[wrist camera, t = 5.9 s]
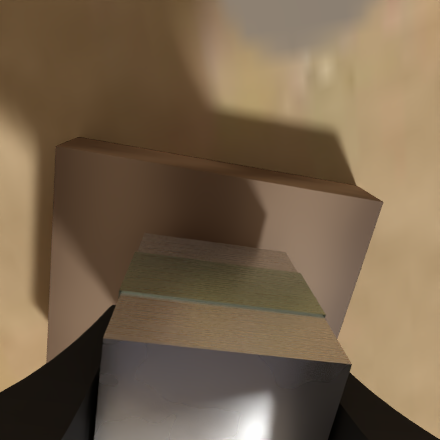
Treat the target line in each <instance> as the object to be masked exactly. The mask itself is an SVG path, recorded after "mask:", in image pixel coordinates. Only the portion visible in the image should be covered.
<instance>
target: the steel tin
mask: <svg viewBox="0 0 440 440" xmlns="http://www.w3.org/2000/svg"><path fill="white" fill-rule="evenodd" d="M325 316H326V314H325V312H324V311H323V309H322V308H321V306H320V304H319V303H318V301H317V299H316V298H315V296H314V294H313V293H312V291H311V289H310V288H309V286H308V284H307V283H306V281H305V279H304V278H303V276H302V274H301V273H298V272H297V270H296V269H295V267H294V265H293V264H292V262H291V260H290V259H289V257H288V255H287V253H286V252H281V251H274V250H266V249H259V248H252V247H244V246H237V245H229V244H222V243H215V242H207V241H200V240H193V239H185V238H178V237H171V236H163V235H156V234H148V233H144V236H143V238H142V241H141V243H140V246H139V249H138V251H137V252H135V253H134V255H133V258H132V260H131V263H130V265H129V268H128V270H127V272H126V275H125V277H124V280H123V282H122V285H121V287H120V289H119V297H118V302H117V304H116V307H115V309H114V312H113V314H112V317H111V319H110V322H109V324H108V327H107V329H106V332H105V334H104V337H103V344H102V355H101V367H100V378H99V389H98V401H97V412H96V423H95V435H94V440H328V437H329V434H330V431H331V428H332V425H333V422H334V419H335V415H336V412H337V409H338V406H339V403H340V400H341V397H342V394H343V390H344V387H345V384H346V381H347V378H348V375H349V372H350V369H351V365H352V364H351V362H350V360H349V359H348V357H347V355H346V354H345V352H344V350H343V349H342V347H341V345H340V343H339V342H338V340H337V338H336V337H335V335H334V333H333V332H332V330H331V328H330V326H329V325H328V323H327V321H326V320H325Z"/></svg>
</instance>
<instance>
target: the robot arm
mask: <svg viewBox="0 0 440 440" xmlns="http://www.w3.org/2000/svg"><path fill="white" fill-rule="evenodd" d="M115 307H116V305H112V306H110V307H109V308H108V309H107V310H106V311H105V312H104V313H103V314H102V315H101V316H100V318H99V319H98V320H97V321H96V322H95V323H94V324H93V325H92V326H90V327H89V328H88V329H87V330H86V331H85V332H84V333H83V334H82V335H81V336H80V337H79V338H77V339H76V340H75V341H74V342H73V343H72V344H71V345H69V346H68V347H67V348H66V349H64V350H63V351H62V352H61V353H59V354H58V355H57V356H56V357H55V358H53V359H52V360H51V361H49V362H48V363H46V364H45V365H44V366H42V367H41V368H39V369H38V370H37V371H35V372H34V373H32V374H31V375H29V376H28V377H26V378H24V379H23V380H21V381H19V382H18V383H16V384H14V385H12V386H11V387H9V388H7V389H5V390H4V391H2V392H0V440H94V435H95V423H96V412H97V401H98V389H99V378H100V367H101V355H102V344H103V337H104V334H105V332H106V329H107V327H108V324H109V322H110V319H111V317H112V314H113V312H114V309H115ZM328 440H440V439H438V438H437V437H435V436H433V435H432V434H430V433H429V432H427V431H426V430H424V429H423V428H421V427H419V426H418V425H416V424H415V423H413V422H412V421H410V420H409V419H407V418H406V417H405V416H403V415H402V414H400V413H399V412H397V411H396V410H395V409H393V408H392V407H391V406H389V405H388V404H387V403H386V402H384V401H383V400H382V399H380V398H379V397H378V396H376V395H375V394H374V393H373V392H371V391H370V390H369V389H368V388H367V387H366V386H364V385H363V384H362V383H361V382H360V381H359V380H358V379H356V378H355V377H354V376H353V375H352V374H351V373H350V372H349V375H348V378H347V381H346V384H345V387H344V390H343V394H342V397H341V400H340V403H339V406H338V409H337V412H336V415H335V419H334V422H333V425H332V428H331V431H330V434H329V437H328Z"/></svg>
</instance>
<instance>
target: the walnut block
mask: <svg viewBox="0 0 440 440" xmlns="http://www.w3.org/2000/svg"><path fill="white" fill-rule="evenodd" d="M382 205H383V202H382V201H381V200H379V199H377V198H376V197H374V196H373V195H371V194H369V193H368V192H366V191H365V190H363V189H361V188H360V187H358V186H356V185H351V184H345V183H339V182H334V181H328V180H322V179H316V178H311V177H305V176H299V175H293V174H288V173H282V172H276V171H270V170H265V169H259V168H253V167H247V166H242V165H236V164H230V163H225V162H219V161H213V160H207V159H202V158H196V157H190V156H184V155H179V154H173V153H167V152H161V151H156V150H150V149H144V148H138V147H133V146H127V145H121V144H115V143H110V142H104V141H98V140H92V139H87V138H81V137H77V138H75V139H72V140H70V141H67V142H65V143H62V144H60V145H57V146H56V156H55V179H54V202H53V225H52V248H51V271H50V294H49V316H48V339H47V362H46V363H48V362H49V361H51V360H52V359H53V358H55V357H56V356H57V355H58V354H59V353H61V352H62V351H63V350H64V349H66V348H67V347H68V346H69V345H71V344H72V343H73V342H74V341H75V340H76V339H77V338H79V337H80V336H81V335H82V334H83V333H84V332H85V331H86V330H87V329H88V328H89V327H90V326H92V325H93V324H94V323H95V322H96V321H97V320H98V319H99V318H100V316H101V315H102V314H103V313H104V312H105V311H106V310H107V309H108V308H109V307H110V306H112V305H116V304H117V302H118V297H119V289H120V287H121V285H122V282H123V280H124V277H125V275H126V272H127V270H128V268H129V265H130V263H131V260H132V258H133V255H134V253H135V252H137V251H138V249H139V246H140V243H141V241H142V238H143V236H144V233H148V234H156V235H163V236H171V237H178V238H185V239H193V240H200V241H207V242H215V243H222V244H229V245H237V246H244V247H252V248H259V249H266V250H274V251H281V252H286V253H287V255H288V257H289V259H290V260H291V262H292V264H293V265H294V267H295V269H296V270H297V272H298V273H301V274H302V276H303V278H304V279H305V281H306V283H307V284H308V286H309V288H310V289H311V291H312V293H313V294H314V296H315V298H316V299H317V301H318V303H319V304H320V306H321V308H322V309H323V311H324V312H325V314H326V316H325V320H326V321H327V323H328V325H329V326H330V328H331V330H332V332H333V333H334V335H335V337H336V338H338V335H339V332H340V329H341V326H342V323H343V320H344V317H345V314H346V311H347V308H348V305H349V302H350V300H351V297H352V294H353V291H354V288H355V285H356V282H357V279H358V276H359V273H360V270H361V267H362V264H363V261H364V258H365V255H366V252H367V249H368V246H369V243H370V240H371V237H372V234H373V231H374V228H375V225H376V222H377V219H378V216H379V213H380V210H381V207H382Z"/></svg>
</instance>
